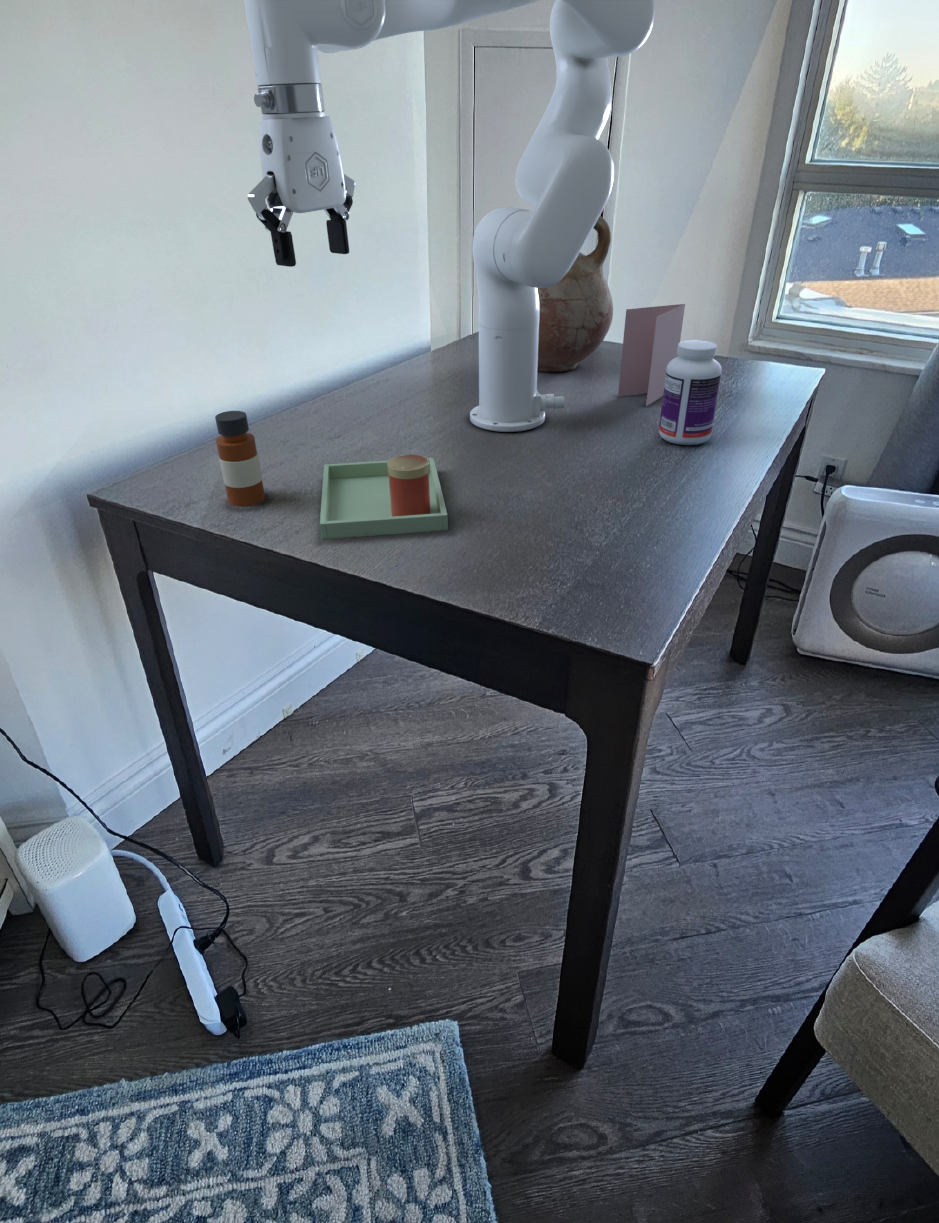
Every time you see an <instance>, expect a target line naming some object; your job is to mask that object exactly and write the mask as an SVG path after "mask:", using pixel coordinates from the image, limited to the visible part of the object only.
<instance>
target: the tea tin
mask: <svg viewBox="0 0 939 1223" xmlns="http://www.w3.org/2000/svg"><path fill="white" fill-rule="evenodd" d="M427 458H428V457H425V456H423V455H419V454H409V453H408V454H401V455H396V456H393V457H391V458H389V459H388V460H387V461H388V462H387V467H388V475H389V488H390V501H391V514H392V517H393V516H407V515H422V514H430V491H429V461H428V459H427Z"/></svg>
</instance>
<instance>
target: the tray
mask: <svg viewBox="0 0 939 1223" xmlns="http://www.w3.org/2000/svg"><path fill="white" fill-rule="evenodd" d="M426 458H427V459H428V461H429V491H430V514H422V515H407V516H393V517H392V514H391V501H390V488H389V475H388V467H387V462H388V461H389V460H374V461H360V462H358V461H357V462H342V463H327V464H323V471H322V474H323V475H322V487H321V488H322V489H321V502H320V515H319V516H320V517H319V530H320V536H321V540H327V539H329V540H330V539H342V538H354V537H355V538H356V537H369V536H370V537H371V536H383V535H385V536H386V535H398V534H410V533H426V532H439V531H448V530H449V524H448V520H449V519H448V518H449V517H448V512H447V507H446V504H445V499H444V495H443V491H442V487H441V483H440V478H439V474H438V471H437V470H438V469H437V467H436V466H437V465H436V462H435V458H434V457H426Z"/></svg>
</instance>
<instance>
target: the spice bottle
mask: <svg viewBox="0 0 939 1223" xmlns="http://www.w3.org/2000/svg"><path fill="white" fill-rule="evenodd" d="M214 418H215V424H216V428H217V433H218V434H219V436H217V438H216V439H215V444H216V449H217V455H218V460H219V465H220V470H221V474H222V480H223V484H224V488H225V492H226V498H227V501H228V504H229V505H231V506H234V507H242V508H243V507H251V506H254V505H255V506H256V505H258V504H260V503H262V502H263V501H264V500H265V499H266V494H265V489H264V488H265V487H264V484H263V483H264V482H263V476H262V469H261V464H260V460H259V459H260V458H259V453H258V450H257V444H256V437H255V436H254V434H252V433H251V432H249V431H250V428H249V421H248V416H247V413H246V412H245V411H242V410H227V411H222V412H220V413H217V414H215V416H214Z"/></svg>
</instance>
